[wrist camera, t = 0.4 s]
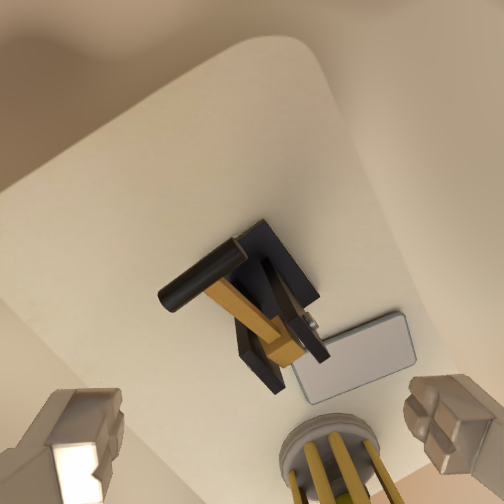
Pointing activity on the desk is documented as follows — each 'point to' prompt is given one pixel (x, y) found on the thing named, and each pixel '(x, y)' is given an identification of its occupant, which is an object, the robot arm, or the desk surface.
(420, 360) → the desk surface
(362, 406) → the desk surface
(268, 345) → the lever
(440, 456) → the robot arm
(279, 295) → the switch bracket
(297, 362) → the smartphone
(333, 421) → the lantern
